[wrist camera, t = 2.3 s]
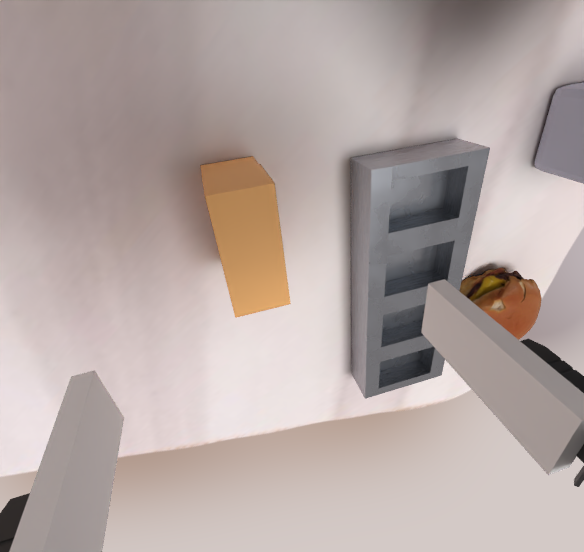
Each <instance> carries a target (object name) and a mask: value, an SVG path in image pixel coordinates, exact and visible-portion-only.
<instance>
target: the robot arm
mask: <svg viewBox="0 0 584 552" xmlns="http://www.w3.org/2000/svg"><path fill="white" fill-rule="evenodd" d="M421 333H422V334H423V335H424V336H425V337H426V338H427V340H428V341H429V342H430V343H431V344H432V345H433V346H434V347H435V349H436V350H437V351H438V352H439V353H440V354H441V355H442V356H443V357H444V359H445V360H446V361H447V362H448V363H449V364H450V365H451V366H452V368H453V369H454V370H455V371H456V372H457V373H458V374H459V375H460V377H461V378H462V379H463V380H464V381H465V382H466V383H467V384H468V386H469V387H470V388H471V389H472V390H473V391H474V392H475V393H476V394H477V396H478V397H479V398H480V399H481V400H482V401H483V402H484V404H485V405H486V406H487V407H488V408H489V409H490V410H491V411H492V412H493V414H494V415H495V416H496V417H497V418H498V419H499V420H500V421H501V422H502V424H503V425H504V426H505V427H506V428H507V429H508V430H509V431H510V433H511V434H512V435H513V436H514V437H515V438H516V439H517V440H518V442H519V443H520V444H521V445H522V446H523V447H524V448H525V450H526V451H527V452H528V453H529V454H530V455H531V456H532V457H533V458H534V460H535V461H536V462H537V463H538V464H539V465H540V466H541V468H542V469H543V470H544V471H545V472H546V473H547V474H548V475H550V474H553V473H555V472H558V471H560V470H563V469H565V468H568V467H570V465H571V464H572V462H573V461H574V459H575V458H576V456H577V457H578V458H579V459H580V460H581V461H582V462H583V463H584V376H583V375H581V374H580V373H579V372H577V371H576V370H573V369H572V367H571V366H570V365H568V364H567V363H566V362H565V361H561V359H560V358H559V357H558V356H557V355H556V354H554V353H553V352H552V351H550V350H549V349H548V348H546V347H545V346H543V345H541V344H538V343H536V342H534V341H532V340H530V339H526V340H523V341H519V340H518V339H517V338H516V337H514V336H513V335H512V334H511V333H510V332H508V331H507V330H506V329H505V328H503V327H502V326H501V325H500V324H499V323H497V322H496V321H495V320H494V319H492V318H491V317H490V316H489V315H488V314H486V313H485V312H484V311H483V310H481V309H480V308H479V307H478V306H477V305H475V304H474V303H473V302H472V301H471V300H469V299H468V298H467V297H466V296H464V295H463V294H462V293H461V292H460V291H458V290H457V289H456V288H455V287H453V286H452V285H451V284H450V283H449V282H447V281H446V280H445V279H444V280H440V281H436V282H432V283H428V289H427V296H426V303H425V310H424V317H423V324H422V331H421ZM123 421H124V417H123V415H122V414H121V412H120V411H119V409H118V407H117V406H116V404H115V402H114V401H113V399H112V398H111V396H110V394H109V393H108V391H107V390H106V388H105V386H104V385H103V383H102V382H101V380H100V378H99V377H98V375H97V374H96V372H95V371H91V372H87V373H83V374H79V375H76V376H72V377H71V379H70V382H69V385H68V387H67V390H66V393H65V396H64V399H63V402H62V404H61V407H60V410H59V413H58V416H57V418H56V421H55V424H54V427H53V430H52V433H51V435H50V438H49V441H48V444H47V447H46V450H45V452H44V455H43V458H42V461H41V464H40V466H39V469H38V472H37V475H36V478H35V481H34V483H33V486H32V489H31V492H30V493H29V494H26V495H23V496H19V497H16V498H13V499H10V501H9V502H8V503H7V505H6V506H5V508H4V509H3V510H2V512H1V513H0V552H102V548H103V542H104V536H105V530H106V524H107V518H108V512H109V506H110V500H111V494H112V487H113V481H114V475H115V469H116V463H117V457H118V451H119V445H120V439H121V433H122V427H123ZM583 480H584V466H583V467H582V469H581V470H580V472H579V473H578V475H577V476H576V477H575V480H574V485H575V486H577V487H579V486H580V484H581V483H582V481H583Z"/></svg>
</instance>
